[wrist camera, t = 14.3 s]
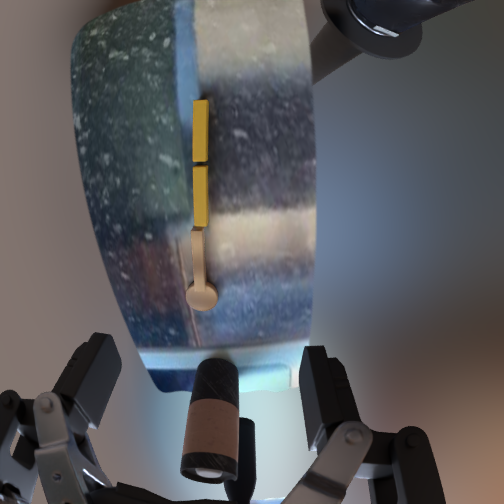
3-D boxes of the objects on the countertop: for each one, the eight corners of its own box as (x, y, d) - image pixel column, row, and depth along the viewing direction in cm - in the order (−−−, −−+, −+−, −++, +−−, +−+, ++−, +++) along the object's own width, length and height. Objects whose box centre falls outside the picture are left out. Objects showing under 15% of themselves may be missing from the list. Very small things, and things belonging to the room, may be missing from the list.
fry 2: (195, 165, 30) (192, 167, 29) (208, 165, 31) (206, 166, 29) (196, 222, 33) (194, 226, 32) (208, 222, 33) (207, 226, 32)
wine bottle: (227, 415, 50) (223, 545, 23) (257, 418, 51) (262, 545, 23) (223, 428, 53) (218, 546, 25) (251, 431, 53) (253, 547, 26)
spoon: (181, 226, 33) (178, 230, 32) (216, 226, 34) (214, 231, 32) (188, 306, 38) (186, 313, 37) (218, 307, 38) (217, 314, 37)
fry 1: (195, 101, 27) (193, 100, 26) (208, 101, 27) (207, 99, 26) (195, 160, 30) (192, 161, 29) (207, 160, 30) (206, 161, 29)
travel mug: (194, 355, 42) (175, 464, 24) (241, 358, 43) (239, 470, 24) (196, 383, 45) (182, 480, 27) (238, 386, 46) (237, 485, 28)
